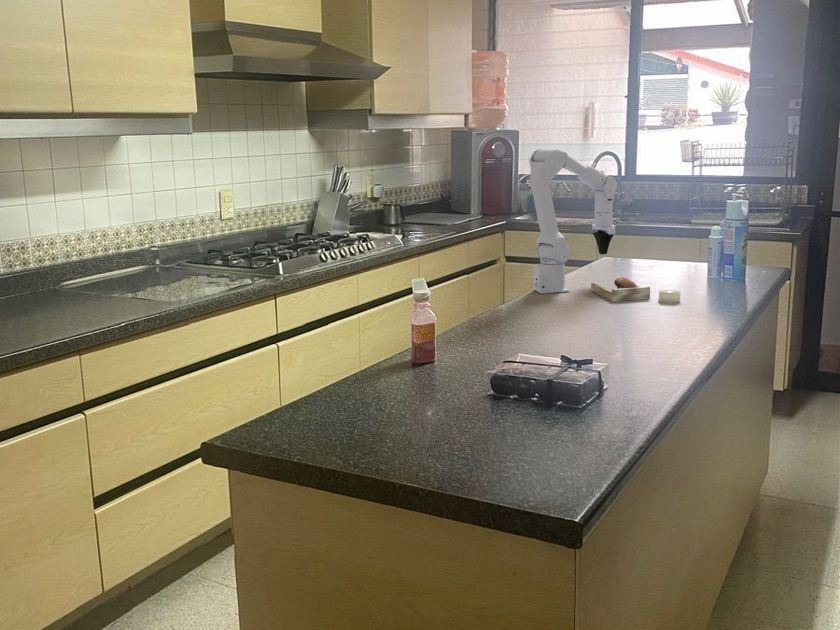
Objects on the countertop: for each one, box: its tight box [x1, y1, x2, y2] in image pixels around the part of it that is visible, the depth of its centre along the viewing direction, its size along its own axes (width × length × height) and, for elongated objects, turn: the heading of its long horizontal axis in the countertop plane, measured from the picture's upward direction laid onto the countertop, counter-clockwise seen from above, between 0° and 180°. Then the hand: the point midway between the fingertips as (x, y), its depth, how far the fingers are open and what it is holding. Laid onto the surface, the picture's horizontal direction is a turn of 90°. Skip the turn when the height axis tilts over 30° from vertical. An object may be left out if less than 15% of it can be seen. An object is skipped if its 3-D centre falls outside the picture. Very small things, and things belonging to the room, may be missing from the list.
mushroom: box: [614, 277, 637, 289], centre depth 257 cm, size 8×8×6 cm
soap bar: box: [658, 289, 681, 304], centre depth 249 cm, size 6×6×3 cm
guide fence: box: [590, 282, 651, 302], centre depth 260 cm, size 12×17×4 cm
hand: (603, 253), depth 280 cm, fingers closed
